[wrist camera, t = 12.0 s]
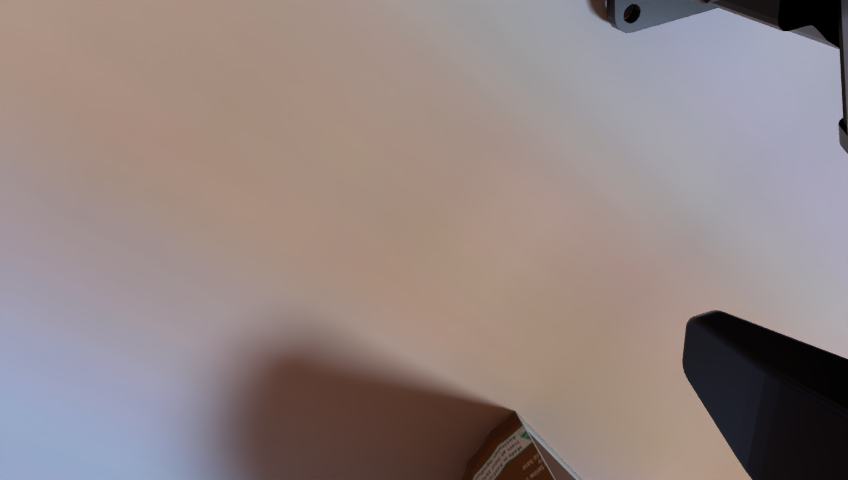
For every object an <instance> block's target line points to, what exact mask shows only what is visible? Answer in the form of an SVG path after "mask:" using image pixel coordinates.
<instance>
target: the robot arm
mask: <svg viewBox="0 0 848 480" xmlns="http://www.w3.org/2000/svg"><path fill="white" fill-rule="evenodd" d="M631 4H632V12H631V14H630V16H629V17H628V18H626V19H624V17H623V15H624V11H625V10H626V8H627V7H628V6H629V5H631ZM715 8H721V9H724V10H727V11H729V12H732V13H735V14H738V15H740V16H743V17H746V18H749V19H751V20H754V21H757V22H760V23H762V24H765V25H768V26H771V27H773V28H776V29H779V30H782V31H790V32H793V33H796V34H798V35H801V36H804V37H807V38H810V39H812V40H815V41H818V42H821V43H824V44H826V45H829V46H832V47H835V48H837V49H840V64H841V83H842V102H843V118H842V119H841V120H840V121H839V140H840V145H841V146H842V147H843V149H844V150H845V151H846V152H847V153H848V0H607V16H608V21H609V23H610V24H611V25H612V27H614V28H616V29H619V30H621V31H623V32H625V33H630V32H635V31H639V30H642V29H646V28H649V27H653V26H656V25H660V24H663V23H667V22H670V21H674V20H677V19H681V18H684V17H688V16H691V15H695V14H698V13H702V12H705V11H709V10H712V9H715ZM682 362H683V369H684V372H685V375H686V377H687V379H688V381H689V382H690V384H691V385H692V387H693V389H694V390H695V392H696V393H697V395H698V397H699V398H700V400H701V401H702V403H703V405H704V406H705V408H706V409H707V411H708V413H709V414H710V416H711V417H712V419H713V421H714V422H715V424H716V425H717V427H718V428H719V430H720V432H721V433H722V435H723V436H724V438H725V440H726V441H727V443H728V444H729V446H730V448H731V449H732V451H733V452H734V454H735V456H736V457H737V459H738V460H739V462H740V463H741V465H742V466H743V468H744V469H745V471H746V472H747V473H748V475H749V476H750V477H751V479H752V480H848V359H846V358H843V357H841V356H838V355H836V354H833V353H830V352H828V351H825V350H822V349H820V348H817V347H814V346H812V345H809V344H807V343H804V342H801V341H799V340H796V339H793V338H791V337H788V336H786V335H783V334H780V333H778V332H775V331H772V330H770V329H767V328H765V327H762V326H759V325H757V324H754V323H751V322H749V321H746V320H744V319H741V318H738V317H736V316H733V315H730V314H728V313H725V312H722V311H718V310H714V311H709V312H706V313H703V314H700V315H697V316H694V317H692V318H690V319H689V321H688V322H687V325H686V332H685V341H684V350H683V360H682Z"/></svg>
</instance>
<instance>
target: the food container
mask: <svg viewBox="0 0 848 480" xmlns="http://www.w3.org/2000/svg"><path fill="white" fill-rule="evenodd" d="M461 480H582V479H581V478H580V477H579V476H578V475H577V474H576V473H575V472H574V471H573V470H572V469H571V468H570V467H569V466H568V465H567V464H566V463H565V462H564V461H563V460H562V459H561V458H560V457H559V456H558V455H557V454H556V453H555V452H554V451H553V450H552V449H551V447H550V446H549V445H548V444H547V443H546V442H545V441H544V440H543V439H542V438H541V437H540V436H539V435H538V434H537V433H536V432H535V431H534V430H533V429H532V428H531V427H530V426H529V425H528V424H527V423H526V422H525V421H524V420H523V419H522V418H521V417H520V416H519V415H518V414H517V413H516V412H514V413H512V414H511V415H510V416H509V417H508V418H507V419H505V420H504V421H503V422H502V423H501V424H499V425H498V426H497V427H496V428H495V429H494V430H492V431H491V433H490V434H489V435H488V436H487V438H486V439H485V440H484V441H483V443H482V444H481V445H480V447H479V448H478V449H477V450H476V452H475V453H474V454H473V455H472V457H471V458H470V459H469V460H468V463H467V465H466V467H465V470H464V472H463V475H462V477H461Z"/></svg>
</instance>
